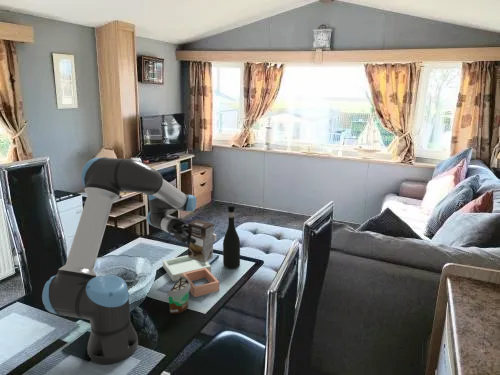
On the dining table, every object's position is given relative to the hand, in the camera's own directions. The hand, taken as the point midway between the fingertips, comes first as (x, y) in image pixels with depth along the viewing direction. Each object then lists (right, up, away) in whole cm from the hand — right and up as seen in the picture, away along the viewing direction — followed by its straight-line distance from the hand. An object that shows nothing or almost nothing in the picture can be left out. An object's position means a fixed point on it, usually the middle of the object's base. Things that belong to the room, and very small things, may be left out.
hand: (209, 240), depth 150 cm
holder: (-4, -20, +3) cm, 20 cm away
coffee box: (-4, -8, +6) cm, 11 cm away
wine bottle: (+8, -15, +21) cm, 28 cm away
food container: (-9, -24, -12) cm, 28 cm away
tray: (-13, -16, +18) cm, 27 cm away
